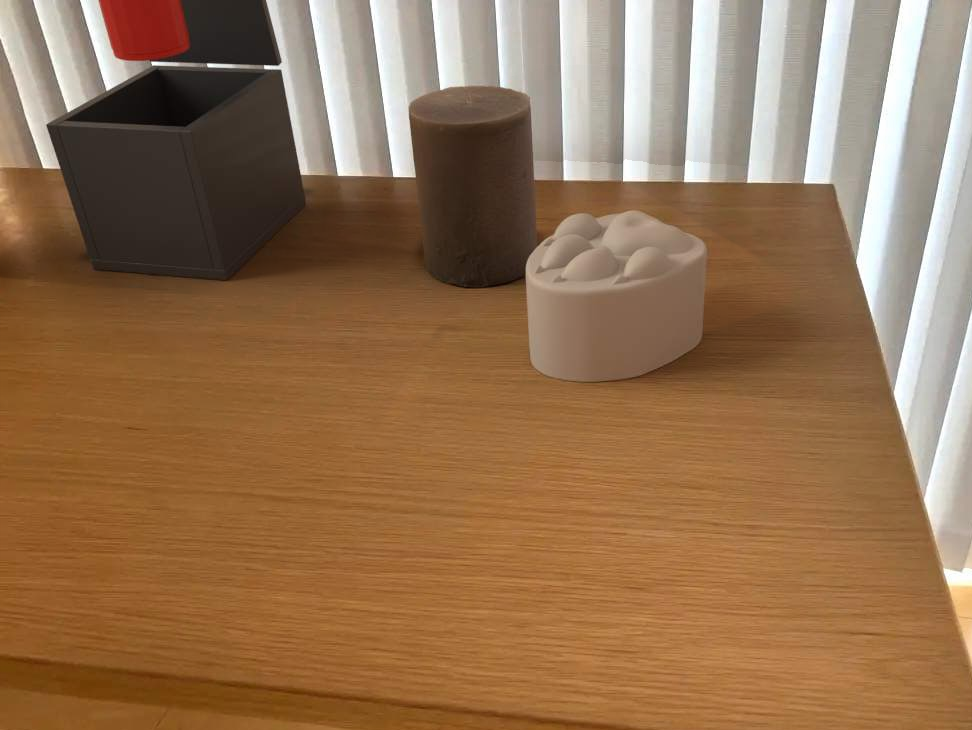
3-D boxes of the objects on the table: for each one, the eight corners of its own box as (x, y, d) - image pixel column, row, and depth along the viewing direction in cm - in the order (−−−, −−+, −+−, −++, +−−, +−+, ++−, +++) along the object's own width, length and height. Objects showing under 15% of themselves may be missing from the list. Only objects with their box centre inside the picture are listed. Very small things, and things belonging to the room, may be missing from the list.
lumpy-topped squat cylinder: (721, 337, 74) (728, 229, 70) (586, 403, 68) (584, 290, 63) (627, 287, 81) (628, 186, 76) (497, 343, 75) (488, 237, 70)
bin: (227, 281, 85) (190, 131, 78) (93, 269, 88) (45, 124, 81) (306, 204, 98) (281, 69, 90) (186, 196, 101) (153, 64, 93)
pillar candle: (455, 299, 81) (437, 116, 72) (408, 254, 88) (386, 82, 79) (560, 268, 85) (554, 90, 76) (506, 227, 92) (495, 60, 83)
